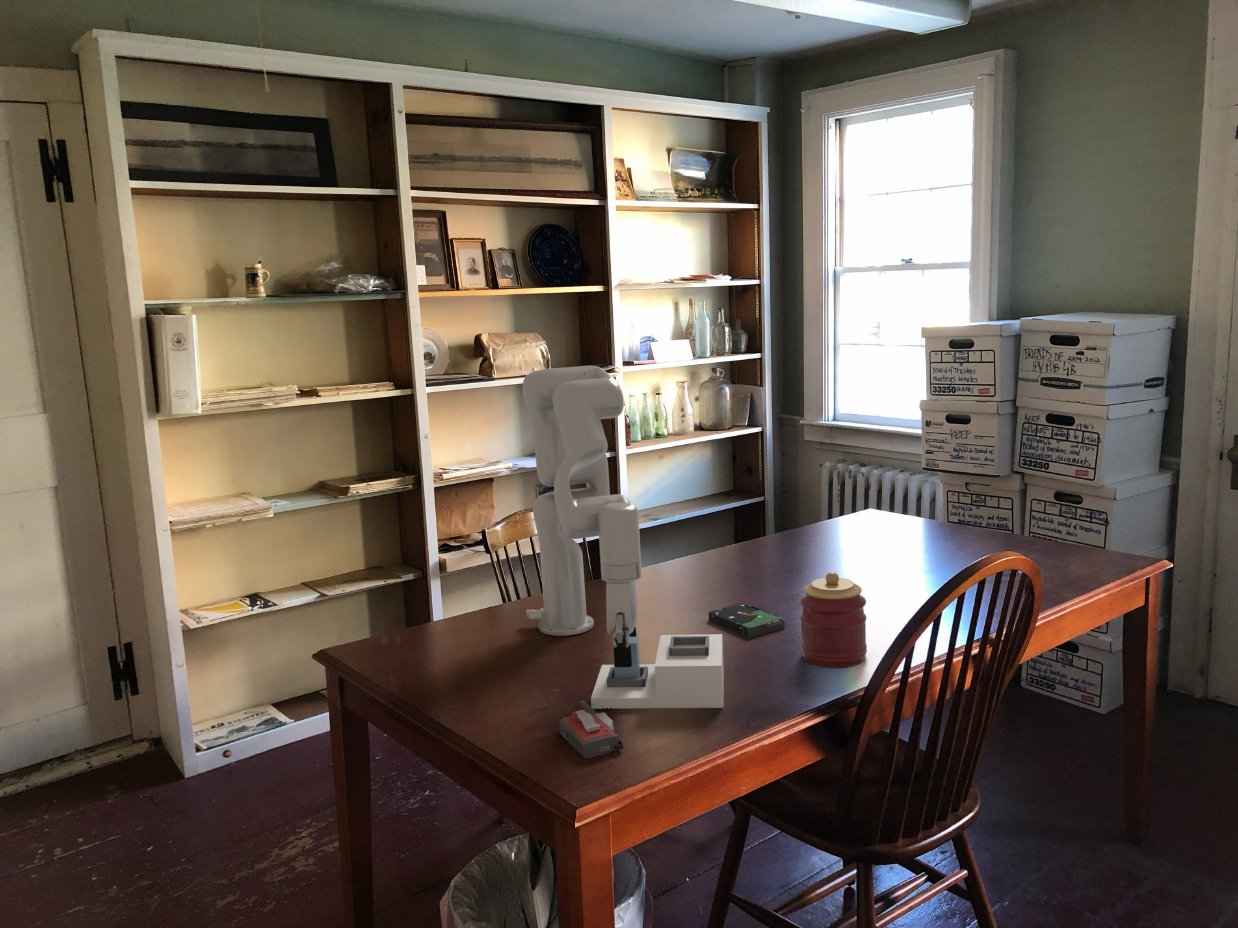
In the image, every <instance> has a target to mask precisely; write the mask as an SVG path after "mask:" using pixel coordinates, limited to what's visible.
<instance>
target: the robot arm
mask: <svg viewBox="0 0 1238 928" xmlns="http://www.w3.org/2000/svg"><path fill="white" fill-rule="evenodd" d="M522 396H523V400H524V401H523V402H524V404H525V407H526V409H527V412H528V414H529V417H530V419H531V422H532V425H533V426H532V427H533V428H532V429H533V437H534V438H533V439H534V440H533V441H534V452H535V464H536V466H535V467H536V472H537V477H538V480H539V481H540V483H541V484H542V485H543V486H547V487H553V491H550V492H546V493H544V494H541V495H539V496H538V497H536V499H535V500H534V502H533V504H532V516H533V521H534V524H535V529H536V533H537V538H538V539H537V540H538V546H539V557H540V570H541V581H542V583H541V584H542V598H543V607H540V609H526V611H525V615H526V618H527V619H529V621H539V623H538V630H539V631H540V632H541V633H543V634H545V635H547V636H548V635H550V636H555V637H556V636H557V637H565V636H574V635H579V634H582V633H585V632H587V631H589V630H592V629H593V627H594V626H595V624H594V621H595V620H594V618H592V616H590V615H587V604H586V603H587V602H586V601H587V600H586V590H585V589H586V588H585V573H584V572H585V571H584V561H583V551H582V549H581V546H580V545H579V543H578V542H576V541H575V540H578V539H587V538H592V537H598V542H599V555H600V559H599V560H600V573H601V574H600V575H601V580H602V581H604V582H606V587H605V589H606V591H605V599H606V600H605V601H606V602H605V606H606V632H607V634H609V635H611V634H613V641H614V646H613V645H612V650H613V649H614V658H613V665H614V666H615V667H631V666H632V656H631V646H629V637H637V627H636V623H637V617H638V598H637V597H638V594H637V592H638V591H637V581H638V580H640V579H641V578H642V576H643V573H642V572H643V571H642V560H641V539H640V516H639V510H638V508H637V507H636V505H635V504H633V502H631V501H630V499H629V498H628V497H627V496H625V495H624V494H621V493H619V494H616V493H615V494H611V492H610V473H609V462H608V456H607V450H608V447H609V445H608V441H607V437H606V435H605V431H604V426H603V424H602V421H601V420H605V419H607V420H608V419H615V418H618V417H620V416H621V415H622V412H623V411H624V405H625V402H624V401H625V399H624V394H623V391H622V389H621V386H620V385H619V383H618V381H617V380H616V378H614V377H613V376H612V375H611V374H610V373H608V372H607V371H606V370H604V369H603V368H601V367H600V366H597V365H581V366H569V367H568V366H567V367H566V366H565V367H553V368H543V369H537V370H534V371H531V372H530V373H527V374H526V376H525V377H524V379H523V380H522ZM577 484H586V487H581V488H574V489H572V488H571V486H570V485H577ZM625 637H626V638H625Z"/></svg>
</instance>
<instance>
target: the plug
mask: <svg viewBox="0 0 1238 928" xmlns="http://www.w3.org/2000/svg"><path fill="white" fill-rule="evenodd" d="M625 638H626V637H625ZM639 641H640V640H639V636H636V637H629V646H631V656H632V666H631V667H615V666H614V675H615V678H640V664H641V663H640V661H641V660H640V659H641V658H640V647H639V646H640V644H639ZM613 646H614V640H613V641H612V647H613ZM612 655H613V658H612V659H614V649H613V648H612Z"/></svg>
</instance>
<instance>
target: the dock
mask: <svg viewBox="0 0 1238 928" xmlns="http://www.w3.org/2000/svg"><path fill="white" fill-rule="evenodd" d="M723 644H724V643H723V634H722V633H719V634H716V633H715V634H714V633H710V634H706V633H705V634H660V637H659V643H658V647H657V652H656V657H655V662H654V663H653V664H651V663H649V664H647V663H645V664H642V663H640V678H615V675H614V664H601V667H600V669H599V673H598V675H597V678H596V681H595V685H594V687H593V688H594V689H593V691H592V694H591V695H590V696H591V697H590V707H591V708H592V709H594V710H595V709H596V710H597V709H601V710H602V709H603V708H604V709H606V708H608V709H610V708H612V709H724V694H725V693H724V691H725V690H724V689H725V687H724V685H725V683H724V682H725V681H724V680H725V669H724V666H725V665H724V648H723Z"/></svg>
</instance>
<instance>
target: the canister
mask: <svg viewBox="0 0 1238 928" xmlns="http://www.w3.org/2000/svg"><path fill="white" fill-rule="evenodd" d="M862 591H863V589H862V587H861V586H859V585H858V584H856V583H855V582H854V581H852V580H851V579H849V578H848V579H847V578H843V577H839V574H838V573H837V572H835V571H829V572H827V573H826V575H825V577H821V578H816V579H814V580H812V581H810V583H808V584H806V585H805V586H803V592H804V593H805V594H803V595H802V596H800V599H799V603H800V605H801V606H802V612H800V615H799V618H800V626H801V627H800V633H801V634H800V636H801V643H800V651H801V654H802V658H803V659H804V660H805V661H807V662H808V663H809V664H811V665H812V664H813V665H815V666H817V667H818V666H819V667H824V668H825V667H826V668H847V667H853V666H856V665H859V664H861V663H862V662H864V660H866V657H867V656H866V655H867V653H868V652H867V651H868V650H867V648H868V645H867V638H866V637H867V634H866V626H867V625H866V620H867V615H866V614H865V609H864V606H866V604H867V600H866V598H865V597H864V596H863V595H861V593H862Z"/></svg>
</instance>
